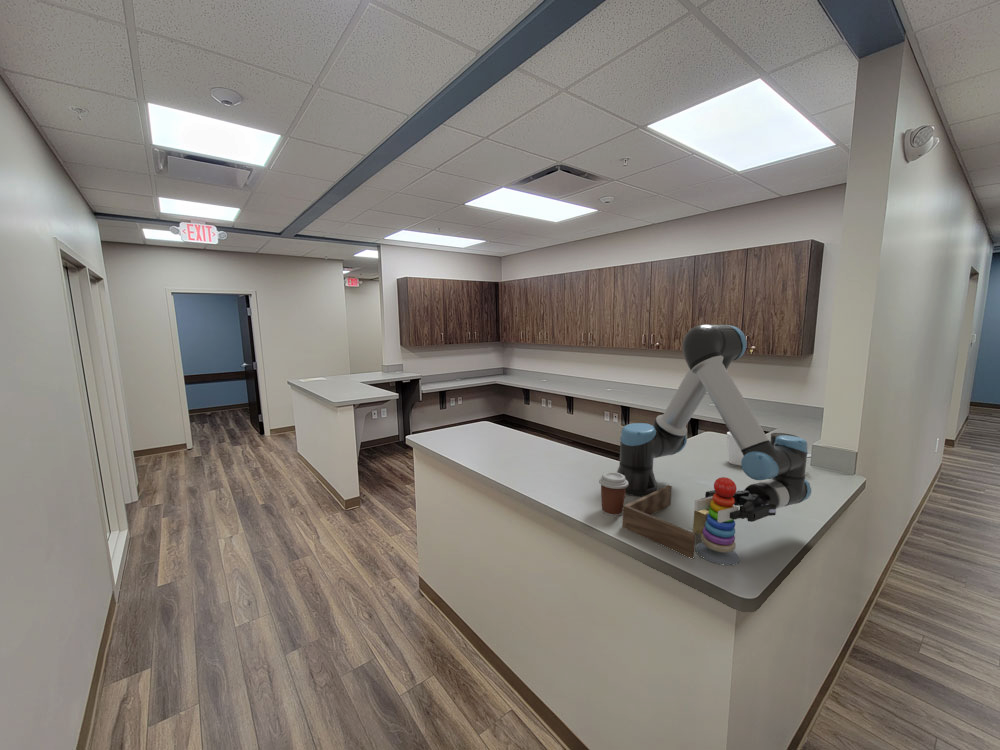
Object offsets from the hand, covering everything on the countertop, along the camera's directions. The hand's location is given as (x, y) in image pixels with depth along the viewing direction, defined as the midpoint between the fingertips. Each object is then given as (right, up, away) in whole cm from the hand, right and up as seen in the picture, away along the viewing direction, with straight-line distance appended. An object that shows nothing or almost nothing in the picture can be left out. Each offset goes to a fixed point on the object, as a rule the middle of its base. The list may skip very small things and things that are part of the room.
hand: (707, 511), depth 101 cm
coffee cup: (-17, -10, +27) cm, 33 cm away
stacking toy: (+5, -10, +4) cm, 12 cm away
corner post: (+6, -11, +15) cm, 19 cm away
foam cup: (+52, -4, +75) cm, 91 cm away
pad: (+4, -13, +4) cm, 14 cm away
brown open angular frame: (0, -11, +17) cm, 20 cm away
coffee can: (+68, -5, +69) cm, 97 cm away
